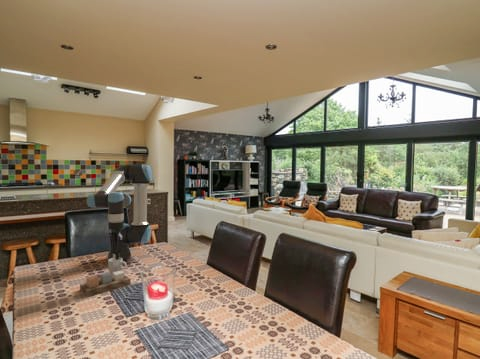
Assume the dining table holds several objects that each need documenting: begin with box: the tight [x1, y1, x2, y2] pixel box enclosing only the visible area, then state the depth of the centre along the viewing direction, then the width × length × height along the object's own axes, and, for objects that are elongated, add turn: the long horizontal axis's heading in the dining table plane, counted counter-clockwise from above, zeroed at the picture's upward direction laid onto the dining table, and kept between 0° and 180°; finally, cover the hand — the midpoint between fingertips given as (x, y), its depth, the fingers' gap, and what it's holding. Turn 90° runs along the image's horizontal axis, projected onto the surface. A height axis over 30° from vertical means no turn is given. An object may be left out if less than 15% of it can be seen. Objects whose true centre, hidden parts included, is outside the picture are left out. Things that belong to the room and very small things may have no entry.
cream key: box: [112, 270, 125, 281], centre depth 154 cm, size 4×4×4 cm
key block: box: [79, 274, 132, 298], centre depth 149 cm, size 21×11×3 cm, turn 136°
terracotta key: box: [85, 274, 100, 288], centre depth 144 cm, size 4×4×4 cm
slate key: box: [99, 271, 112, 285], centre depth 149 cm, size 4×4×4 cm
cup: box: [107, 258, 127, 274], centre depth 169 cm, size 11×8×8 cm
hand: (116, 265), depth 152 cm, fingers closed
